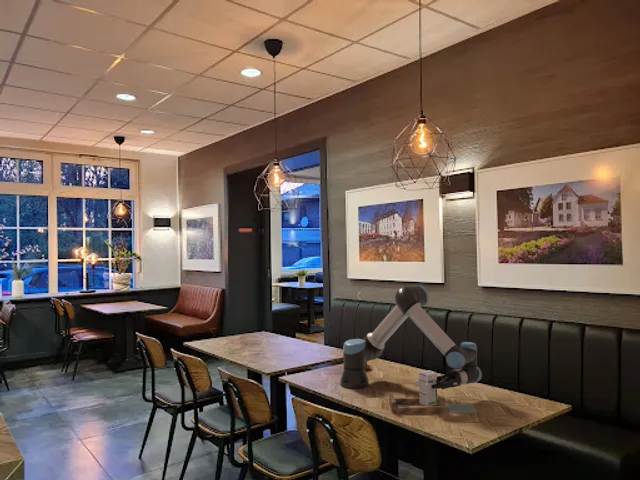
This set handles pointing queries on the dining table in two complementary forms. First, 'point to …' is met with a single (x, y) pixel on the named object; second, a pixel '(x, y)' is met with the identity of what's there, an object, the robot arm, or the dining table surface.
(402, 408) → the walnut lane
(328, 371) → the dining table surface
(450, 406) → the pad
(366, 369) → the cup and saucer
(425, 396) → the syrup box
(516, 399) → the dining table surface
